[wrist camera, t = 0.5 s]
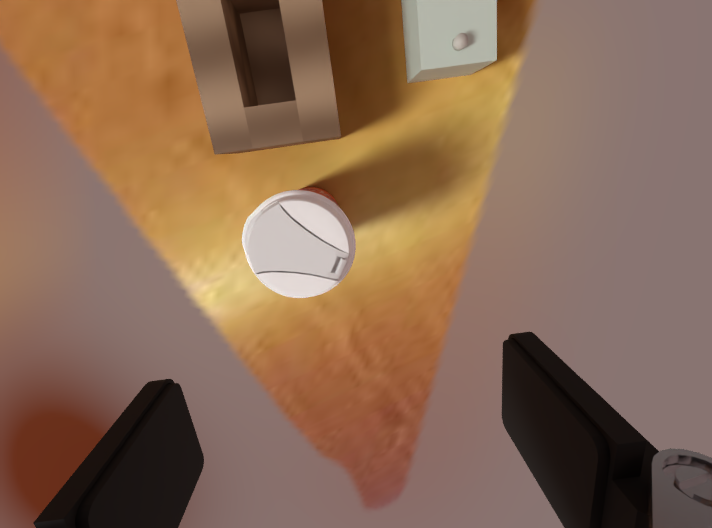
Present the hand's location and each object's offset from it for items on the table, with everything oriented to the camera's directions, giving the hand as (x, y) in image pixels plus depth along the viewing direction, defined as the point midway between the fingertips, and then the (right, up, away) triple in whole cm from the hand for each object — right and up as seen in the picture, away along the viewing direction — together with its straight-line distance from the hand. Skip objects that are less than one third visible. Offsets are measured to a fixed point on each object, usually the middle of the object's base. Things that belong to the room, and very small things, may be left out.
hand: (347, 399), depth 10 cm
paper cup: (-4, +9, +27) cm, 28 cm away
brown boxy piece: (-7, +22, +22) cm, 32 cm away
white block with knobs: (+7, +27, +21) cm, 35 cm away
